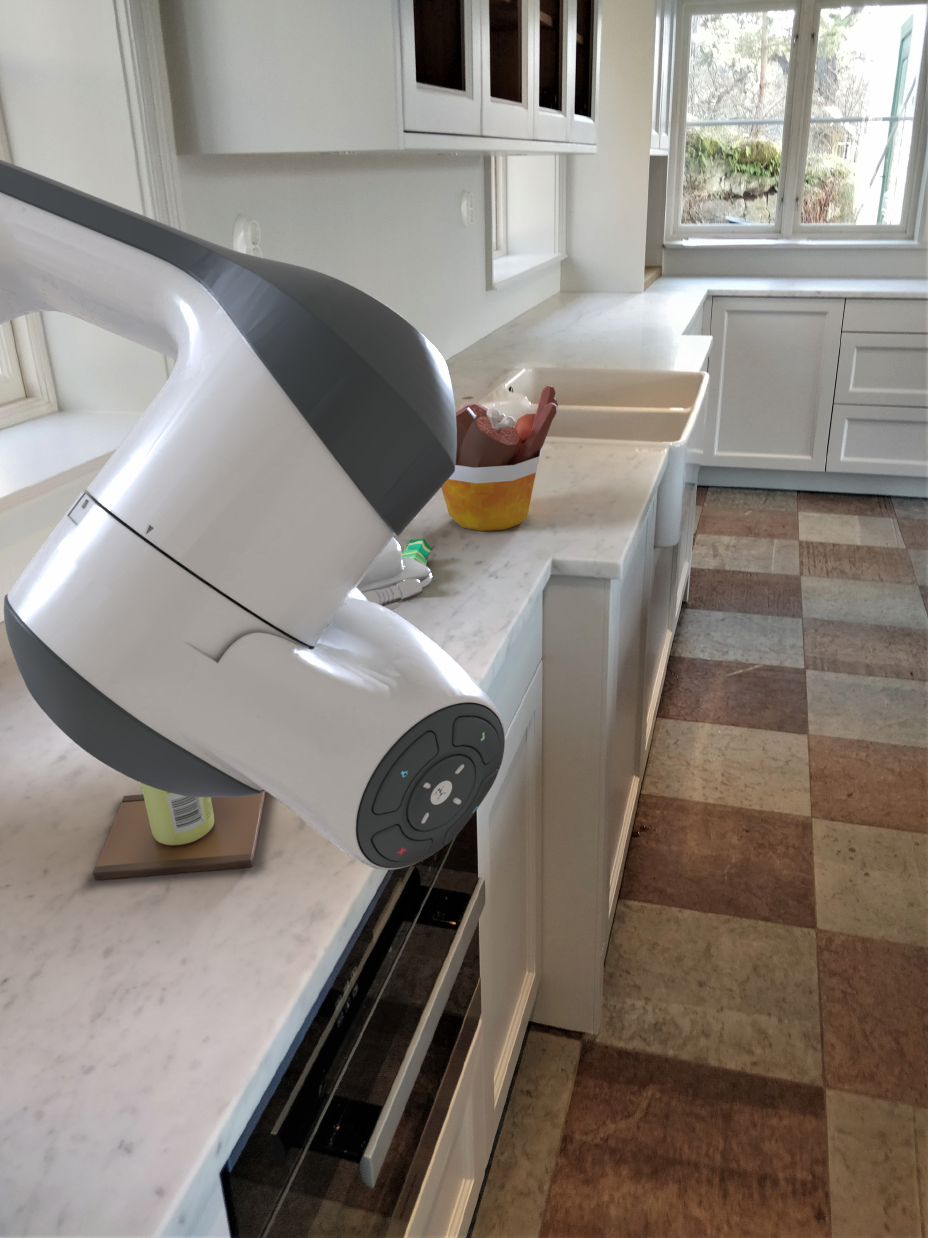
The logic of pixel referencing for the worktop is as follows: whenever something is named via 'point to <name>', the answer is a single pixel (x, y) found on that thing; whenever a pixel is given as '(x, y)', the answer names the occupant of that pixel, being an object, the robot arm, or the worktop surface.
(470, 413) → the bucket of meat
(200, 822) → the tube
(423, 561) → the candy
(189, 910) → the worktop surface
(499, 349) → the worktop surface
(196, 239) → the robot arm
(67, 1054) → the worktop surface
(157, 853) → the brown rectangular board
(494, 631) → the worktop surface
